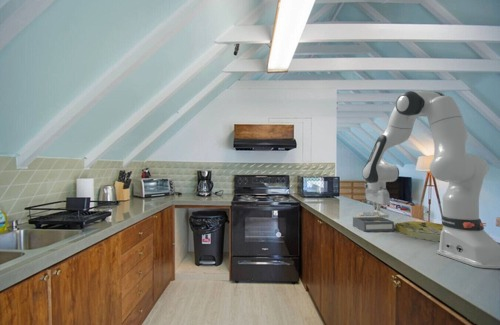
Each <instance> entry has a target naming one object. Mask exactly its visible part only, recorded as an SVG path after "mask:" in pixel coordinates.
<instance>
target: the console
mask: <svg viewBox="0 0 500 325" xmlns="http://www.w3.org/2000/svg"><path fill="white" fill-rule="evenodd" d="M352 227H355V228H356V229H358V230H360V231H362V232H364V233H367V232H369V233H370V232H373V233H375V232H395V222H394V221H393V220H390V219H388V218H381V217H380V216H378V215H374V216H353V217H352Z"/></svg>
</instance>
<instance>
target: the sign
mask: <svg viewBox="0 0 500 325" xmlns="http://www.w3.org/2000/svg"><path fill="white" fill-rule="evenodd" d="M442 229H443V225H442V223H436V222H435V223H434V222H429V221H416V220H415V221H411V220H410V221H404V222H396V223H394V230H395V231H397V232H399V233H401V232H402V234H404V233H405V235H407V234H408V235H407V236H408V237H410V236H411V237H410V238H414V237H416V238H415V239H418V238H421V239H420V240H423V239H426V240H425V241H429V240H433V241H432V242H438V241H440V235H441V231H442Z"/></svg>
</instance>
